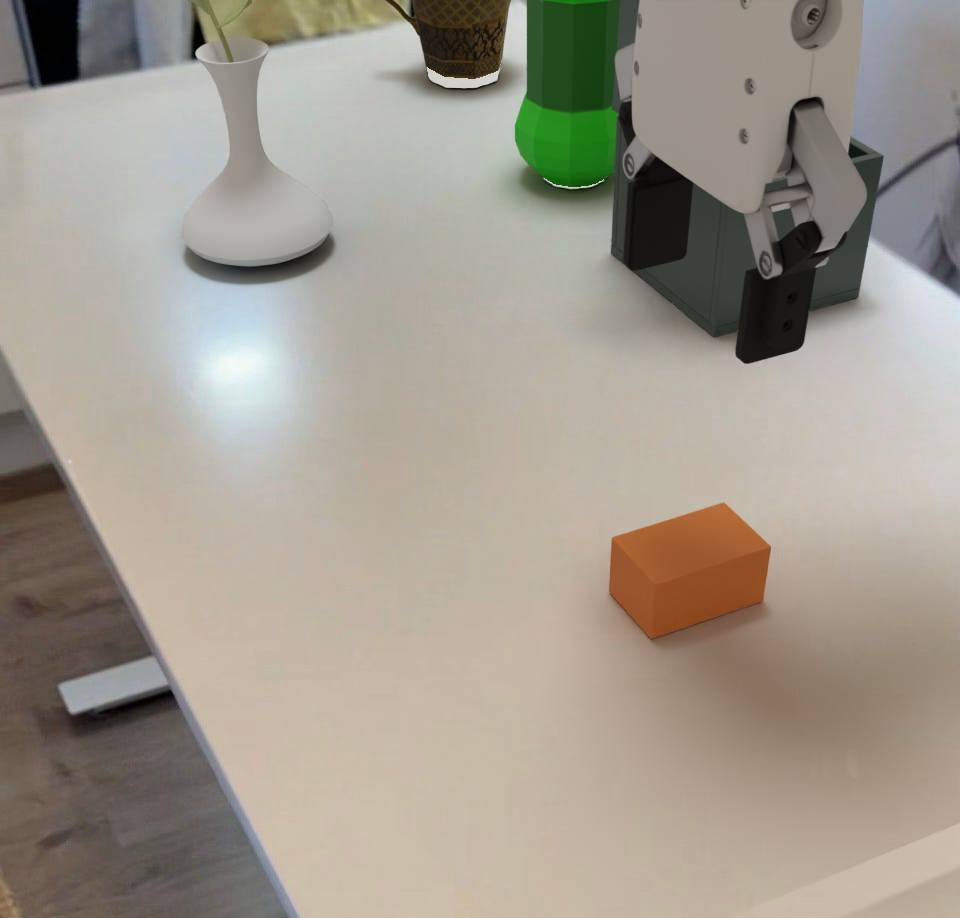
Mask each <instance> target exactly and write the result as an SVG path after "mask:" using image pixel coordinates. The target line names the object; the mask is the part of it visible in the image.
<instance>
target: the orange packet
mask: <svg viewBox="0 0 960 918" xmlns="http://www.w3.org/2000/svg"><path fill="white" fill-rule="evenodd" d="M771 552H772V545H770V544H769V542H767V541H766V540H765V539H764V538H763V537H761V535H760V534H759V533H757V532H756V530H755V529H754V528H752V527H751V526H750V525H749V524H748V523H747V522H746V521H745V520H744V519H742V517H741V516H740V515H738V514H737V513H736V512H735V511H734V510H733V509H732V508H731V507H730V506H729V505H728V504H727V503H726V502H721V503H717V504H714V505H710V506H708V507H704V508H701V509H698V510H695V511H692V512H688V513H685V514H682V515H679V516H676V517H671V518H670V519H669V518H668V519H667V520H663V521H660V522H656V523H653V524H649V525H648V526H644V527H640V528H638V529H634V530H631V531H628V532H624V533H621V534H618V535H616V536H612V537H611V543H610V562H609V563H610V564H609V580H608V581H609V582H608V592H609V594H610V595H611V596H612V597H613V598H614V599H615V600H616V601H617V603H618V604H619V605H620V606H621V607H622V608H623V609H624V610H625V611H626V613H627V614H628V615H629V616H630V617H631V619H632V620H634V622H635V623H636V624H637V625H638V626H639V628H640V629H641V630H642V631H643V632H644V633H645V634H646V635H647V637H649V639H651V640H653V639H657V638H659V637H661V636H664V635H668V634H671V633H674V632H677V631H679V630H683V629H686V628H688V627H692V626H694V625H698V624H701V623H703V622H705V621H709V620H711V619H714V618H717V617H721V616H724V615H727V614H730V613H733V612H736V611H738V610H741V609H744V608H747V607H750V606H754V605H757V604H759V603H761V602H763V601H764V598H765V597H764V596H765V590H766V585H767V584H766V583H767V578H768V571H769V565H770V558H771Z"/></svg>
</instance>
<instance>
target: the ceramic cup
mask: <svg viewBox="0 0 960 918" xmlns="http://www.w3.org/2000/svg"><path fill="white" fill-rule="evenodd" d="M384 1H385V2H387V3H388V4H389V5H390V6H392V7H393V8H394V10H396V11H397V12H398V13H399V14H400V15H401V17H402V18H403V20H405V21H406V22H408V23H409V24H410V25H411V26H412V28H413V30H414V31H415V32H416V33H415V34H417V36H418V37H419V42H420V46H421V50H422V54H423V60H424V65H425V68H426V67H428V68H429V69H431V70H433V71H435V72H436V73H438V74H440V75H442V76H444V77H454V78H468V79H476V78H480V77H483V76H486V75H488V74H491V73H494V72H496V71H498V70H499V68H500V64H501V65H502V63H501V61H502V62H503V57H504V48H505V47H504V46H505V40H506V32H507V25H508V17H509V11H510V6H511V2H512V0H411V2H412V8H413V13H414V17H412V16H410V15H409V14H407V13H406V12H405V10H404V9H403V8H402V6H401V5H400V4H399V3H397V1H395V0H384Z"/></svg>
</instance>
